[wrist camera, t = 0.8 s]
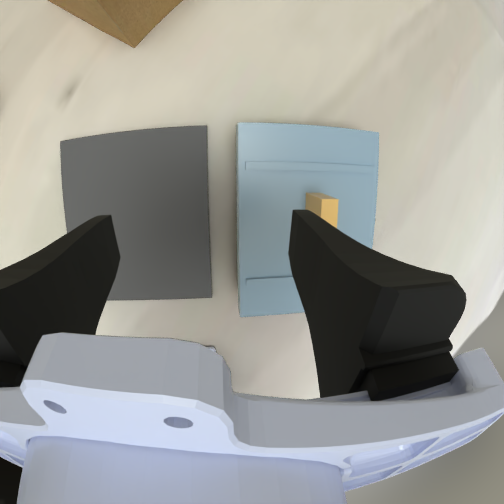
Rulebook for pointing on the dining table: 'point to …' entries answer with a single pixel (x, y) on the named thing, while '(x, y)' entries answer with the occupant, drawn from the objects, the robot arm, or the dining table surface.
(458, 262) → the dining table surface
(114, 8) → the sandwich container
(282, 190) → the lid
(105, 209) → the mat
